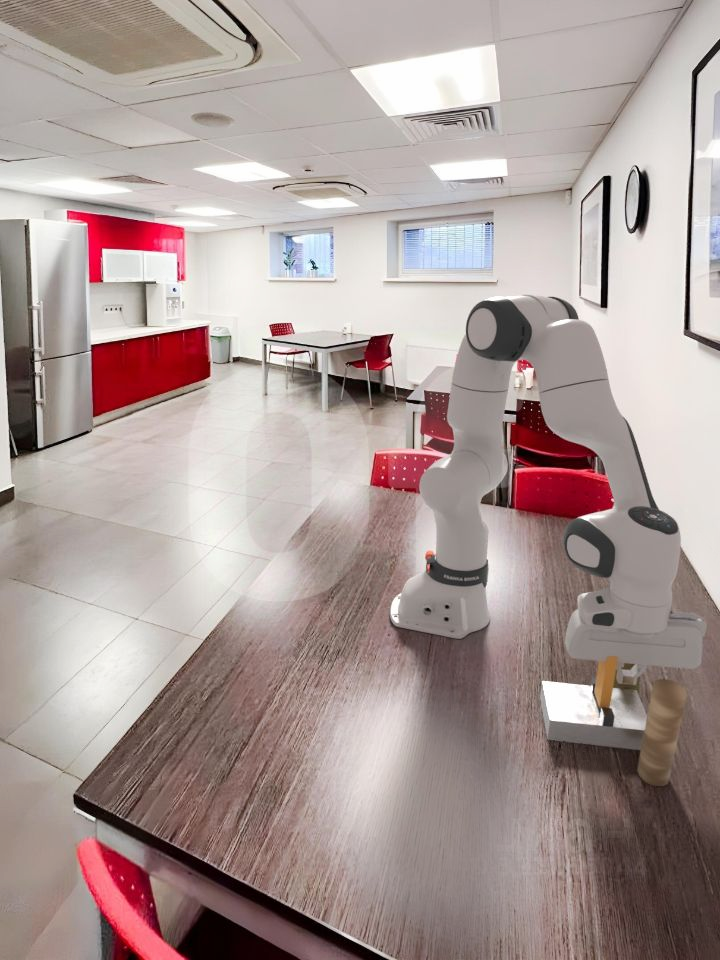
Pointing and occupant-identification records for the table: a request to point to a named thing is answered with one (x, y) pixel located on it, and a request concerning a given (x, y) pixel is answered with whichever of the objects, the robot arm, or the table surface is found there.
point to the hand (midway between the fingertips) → (625, 682)
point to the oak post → (661, 731)
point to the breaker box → (592, 715)
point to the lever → (605, 681)
